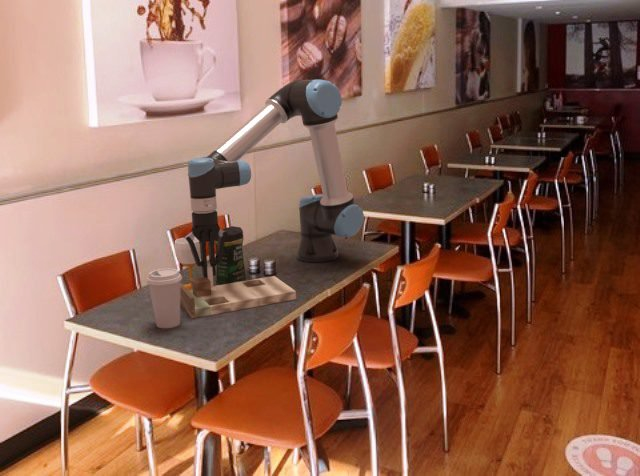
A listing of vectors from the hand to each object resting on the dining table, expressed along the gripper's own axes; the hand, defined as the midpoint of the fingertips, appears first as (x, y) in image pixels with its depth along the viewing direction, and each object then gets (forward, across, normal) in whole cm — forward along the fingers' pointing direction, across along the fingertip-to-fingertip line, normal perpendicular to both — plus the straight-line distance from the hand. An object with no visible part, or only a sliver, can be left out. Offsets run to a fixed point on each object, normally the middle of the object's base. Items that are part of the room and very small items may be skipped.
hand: (210, 286), depth 207 cm
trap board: (+4, +7, -4) cm, 9 cm away
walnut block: (+2, -3, -1) cm, 4 cm away
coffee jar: (+4, +11, +12) cm, 17 cm away
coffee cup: (+4, -16, -14) cm, 22 cm away
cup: (+4, -2, +14) cm, 14 cm away
